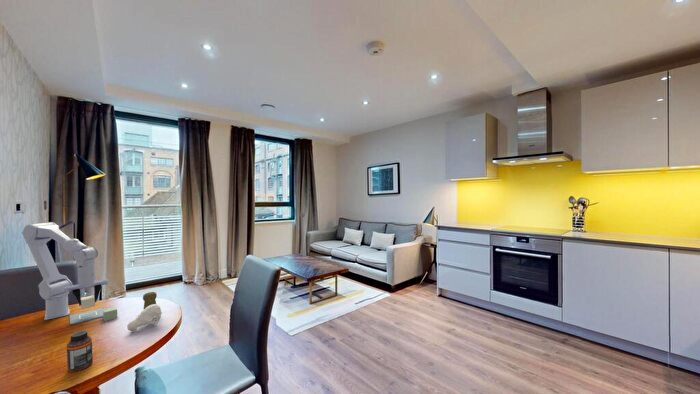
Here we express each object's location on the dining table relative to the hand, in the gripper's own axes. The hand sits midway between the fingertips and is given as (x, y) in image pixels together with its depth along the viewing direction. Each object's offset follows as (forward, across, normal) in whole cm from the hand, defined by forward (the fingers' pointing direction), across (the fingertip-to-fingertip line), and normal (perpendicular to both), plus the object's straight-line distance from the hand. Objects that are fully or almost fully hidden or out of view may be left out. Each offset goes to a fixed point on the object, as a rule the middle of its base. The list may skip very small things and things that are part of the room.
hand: (87, 303), depth 129 cm
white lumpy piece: (+6, +16, -33) cm, 37 cm away
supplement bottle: (+6, -4, -50) cm, 51 cm away
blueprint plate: (+6, 0, 0) cm, 6 cm away
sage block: (+6, +7, -10) cm, 14 cm away
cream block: (+1, 0, 0) cm, 1 cm away
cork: (+6, +20, -22) cm, 30 cm away
